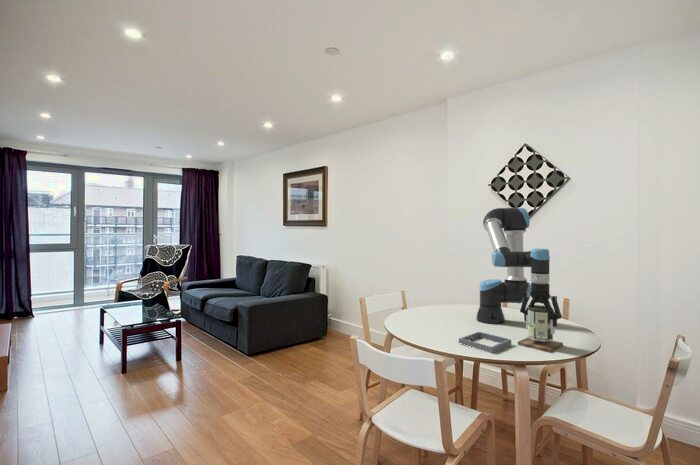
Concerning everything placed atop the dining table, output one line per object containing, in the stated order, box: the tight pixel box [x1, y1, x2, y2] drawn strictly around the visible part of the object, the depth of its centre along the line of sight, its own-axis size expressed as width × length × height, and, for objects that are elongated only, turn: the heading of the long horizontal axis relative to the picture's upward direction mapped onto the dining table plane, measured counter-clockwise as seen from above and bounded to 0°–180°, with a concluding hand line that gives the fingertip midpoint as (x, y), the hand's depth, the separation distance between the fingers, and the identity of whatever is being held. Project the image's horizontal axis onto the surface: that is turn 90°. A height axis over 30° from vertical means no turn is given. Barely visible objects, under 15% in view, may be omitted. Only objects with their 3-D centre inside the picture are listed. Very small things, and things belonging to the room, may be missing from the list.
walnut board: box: [517, 337, 564, 353], centre depth 166 cm, size 14×14×1 cm
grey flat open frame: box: [458, 331, 512, 354], centre depth 168 cm, size 17×17×2 cm
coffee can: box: [527, 304, 554, 341], centre depth 166 cm, size 10×10×14 cm
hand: (540, 330), depth 166 cm, fingers closed on coffee can, 10 cm apart
